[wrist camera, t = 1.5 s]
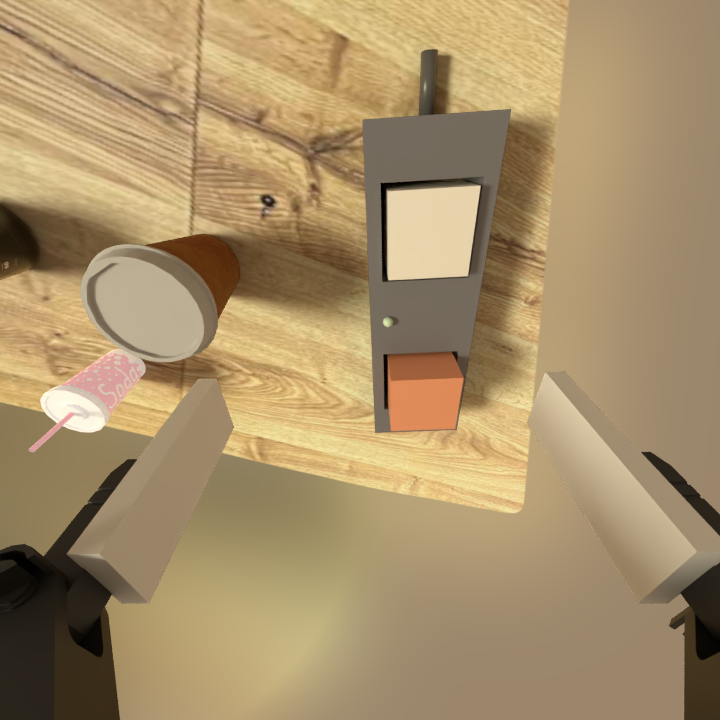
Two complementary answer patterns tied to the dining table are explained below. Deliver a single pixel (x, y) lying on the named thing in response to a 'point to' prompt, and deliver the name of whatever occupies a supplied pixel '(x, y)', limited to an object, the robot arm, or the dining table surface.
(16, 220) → the supplement bottle
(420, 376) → the button orange
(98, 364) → the beverage cup
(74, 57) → the dining table surface
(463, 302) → the push button control box
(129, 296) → the disposable coffee cup
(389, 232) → the button ivory
